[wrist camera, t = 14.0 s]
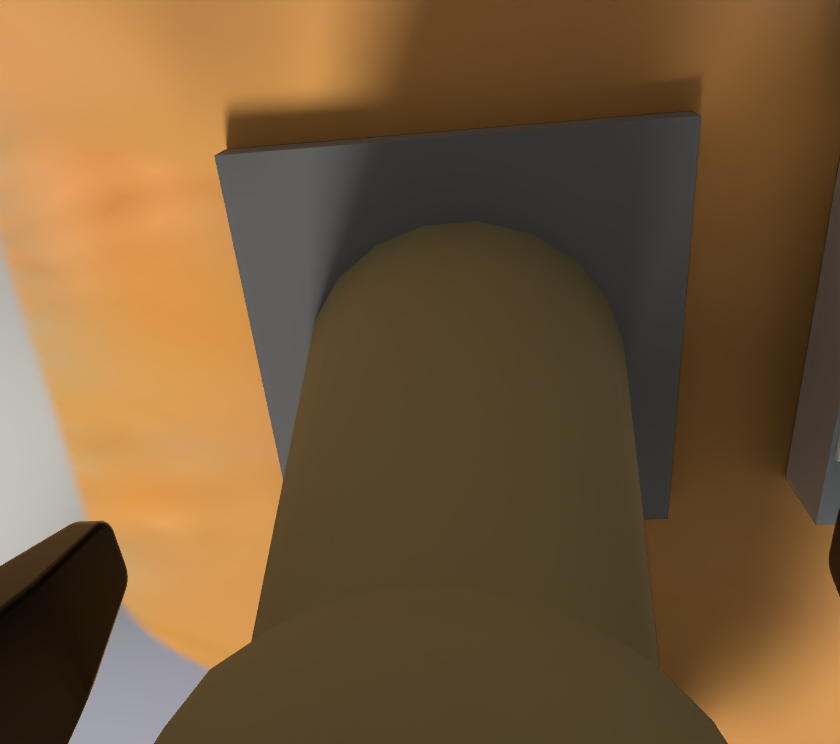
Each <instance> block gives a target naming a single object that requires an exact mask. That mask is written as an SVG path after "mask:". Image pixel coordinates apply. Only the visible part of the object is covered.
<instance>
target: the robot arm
mask: <svg viewBox="0 0 840 744" xmlns="http://www.w3.org/2000/svg"><path fill="white" fill-rule="evenodd" d="M829 567H830V572H831V575H832V578H833V581H834V583H835V586H836V588H837V591H838V593H839V596H840V508H839V511H838V515H837V519H836V524H835V529H834V533H833V538H832V543H831V547H830V552H829ZM127 578H128V575H127V569H126V565H125V562H124V560H123V557H122V554H121V551H120V548H119V546H118V543H117V540H116V537H115V534H114V531H113V529H112V527H111V526H110V525H109V524H108V523H107V522H104V521H80V522H75V523H72V524H70V525H68V526H67V527H65V528H63V529H62V530H60V531H58V532H57V533H55V534H53V535H52V536H50V537H48V538H47V539H45V540H43V541H42V542H40V543H38V544H37V545H35V546H33V547H31V548H30V549H28V550H27V551H25V552H23V553H21V554H20V555H18V556H16V557H15V558H13V559H11V560H10V561H8V562H6V563H5V564H3V565H1V566H0V744H68V742H69V740H70V738H71V736H72V734H73V731H74V729H75V727H76V725H77V723H78V721H79V718H80V716H81V714H82V711H83V709H84V707H85V704H86V702H87V700H88V697H89V695H90V692H91V689H92V687H93V684H94V681H95V678H96V676H97V673H98V670H99V667H100V664H101V661H102V658H103V655H104V652H105V649H106V646H107V643H108V640H109V637H110V634H111V631H112V629H113V626H114V623H115V619H116V617H117V614H118V611H119V608H120V605H121V602H122V599H123V596H124V593H125V590H126V587H127Z"/></svg>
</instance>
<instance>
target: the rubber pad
mask: <svg viewBox="0 0 840 744" xmlns="http://www.w3.org/2000/svg"><path fill="white" fill-rule="evenodd" d="M700 124H701V115H699V114H696V113H694V112H692V111H685V112H673V113H660V114H648V115H636V116H624V117H612V118H600V119H588V120H576V121H564V122H552V123H540V124H528V125H516V126H503V127H491V128H479V129H467V130H455V131H443V132H431V133H419V134H407V135H395V136H383V137H371V138H358V139H346V140H334V141H322V142H310V143H298V144H286V145H274V146H262V147H250V148H238V149H226V150H224V151H222V152H220V153H218V154H217V155H215V160H216V165H217V170H218V174H219V179H220V184H221V188H222V193H223V198H224V203H225V207H226V212H227V217H228V221H229V226H230V231H231V236H232V240H233V245H234V250H235V254H236V259H237V264H238V269H239V273H240V278H241V283H242V287H243V292H244V297H245V302H246V306H247V311H248V316H249V320H250V325H251V330H252V335H253V339H254V344H255V349H256V353H257V358H258V363H259V368H260V372H261V377H262V382H263V386H264V391H265V396H266V401H267V405H268V410H269V415H270V419H271V424H272V429H273V434H274V438H275V443H276V448H277V452H278V457H279V462H280V467H281V471H282V476H283V479H284V474H285V469H286V464H287V459H288V454H289V449H290V444H291V439H292V434H293V429H294V424H295V419H296V414H297V409H298V404H299V399H300V394H301V389H302V383H303V378H304V373H305V368H306V363H307V358H308V353H309V348H310V343H311V338H312V333H313V328H314V323H315V319H316V317H317V315H318V314H319V312H320V310H321V308H322V306H323V305H324V303H325V301H326V299H327V297H328V296H329V294H330V292H331V290H332V288H333V287H334V285H335V283H336V281H337V279H338V278H339V277H340V276H342V275H343V274H344V273H345V272H346V271H347V270H348V269H350V268H351V267H352V266H353V265H354V264H355V263H356V262H358V261H359V260H360V259H361V258H362V257H363V256H364V255H365V254H367V253H368V252H369V251H370V250H371V249H372V248H373V247H375V246H376V245H379V244H381V243H383V242H386V241H388V240H391V239H393V238H395V237H398V236H400V235H403V234H405V233H407V232H410V231H412V230H415V229H417V228H419V227H422V226H424V225H436V224H449V223H461V222H473V221H480V222H485V223H489V224H493V225H497V226H502V227H506V228H510V229H515V230H519V231H523V232H527V233H532V234H533V235H535V236H537V237H538V238H540V239H542V240H543V241H545V242H546V243H548V244H550V245H551V246H553V247H555V248H556V249H558V250H560V251H561V252H563V253H564V254H566V255H568V256H569V257H571V258H573V259H574V260H576V261H577V262H578V263H579V264H580V266H581V267H582V268H583V269H584V270H585V272H586V273H587V274H588V275H589V276H590V278H591V279H592V280H593V281H594V283H595V284H596V285H597V286H598V287H599V289H600V290H601V291H602V292H603V294H604V295H605V296H606V297H607V298H608V300H609V302H610V305H611V308H612V311H613V314H614V317H615V320H616V322H617V325H618V328H619V331H620V334H621V337H622V340H623V343H624V348H625V357H626V366H627V375H628V384H629V393H630V402H631V411H632V420H633V429H634V437H635V446H636V455H637V464H638V473H639V482H640V491H641V500H642V509H643V518H644V520H646V519H668V510H669V498H670V486H671V474H672V462H673V450H674V438H675V426H676V414H677V401H678V389H679V377H680V365H681V353H682V341H683V329H684V317H685V305H686V293H687V281H688V269H689V257H690V245H691V233H692V221H693V209H694V197H695V185H696V172H697V160H698V148H699V136H700Z"/></svg>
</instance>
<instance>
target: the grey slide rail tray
mask: <svg viewBox="0 0 840 744" xmlns="http://www.w3.org/2000/svg"><path fill="white" fill-rule="evenodd" d="M785 479H786V480H787V482H788V483H789V485H790V486H791V488H792V489H793V491H794V492H795V494H796V495H797V497H798V498H799V500H800V501H801V503H802V504H803V506H804V507H805V509H806V510H807V512H808V513H809V515H810V516H811V518H812V520H813V521H814V523H815V524H816V525H817V524H836V519H837V515H838V511H839V508H840V160H839V166H838V172H837V178H836V184H835V190H834V195H833V201H832V207H831V213H830V219H829V225H828V231H827V237H826V243H825V248H824V254H823V260H822V266H821V272H820V278H819V284H818V290H817V296H816V301H815V307H814V313H813V319H812V325H811V331H810V337H809V343H808V348H807V354H806V360H805V366H804V372H803V378H802V384H801V390H800V396H799V401H798V407H797V413H796V419H795V425H794V431H793V437H792V443H791V449H790V454H789V460H788V466H787V472H786V478H785Z"/></svg>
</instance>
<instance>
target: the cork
mask: <svg viewBox="0 0 840 744" xmlns="http://www.w3.org/2000/svg"><path fill="white" fill-rule="evenodd" d="M154 744H728V743H727V742H726V740H725V739H724V737H723V736H722V734H721V733H720V731H719V730H718V728H717V727H716V725H715V724H714V722H713V721H712V720H711V719H710V718H709V717H708V716H707V715H706V714H705V713H704V712H703V711H702V710H701V709H700V708H699V707H698V706H697V705H696V704H695V703H694V702H693V701H692V700H691V699H690V698H689V697H688V696H687V695H686V694H685V693H684V692H683V691H682V690H681V689H680V688H679V687H678V686H677V685H676V684H675V683H674V682H673V681H672V680H671V679H670V678H669V677H668V676H667V675H666V674H665V673H664V672H663V671H662V670H661V669H660V662H659V653H658V644H657V635H656V626H655V617H654V608H653V599H652V590H651V581H650V572H649V563H648V554H647V545H646V536H645V527H644V518H643V509H642V500H641V491H640V482H639V473H638V464H637V455H636V446H635V437H634V429H633V420H632V411H631V402H630V393H629V384H628V375H627V366H626V357H625V348H624V343H623V340H622V337H621V334H620V331H619V328H618V325H617V322H616V320H615V317H614V314H613V311H612V308H611V305H610V302H609V300H608V298H607V297H606V296H605V295H604V294H603V292H602V291H601V290H600V289H599V287H598V286H597V285H596V284H595V283H594V281H593V280H592V279H591V278H590V276H589V275H588V274H587V273H586V272H585V270H584V269H583V268H582V267H581V266H580V264H579V263H578V262H577V261H576V260H574V259H573V258H571V257H569V256H568V255H566V254H564V253H563V252H561V251H560V250H558V249H556V248H555V247H553V246H551V245H550V244H548V243H546V242H545V241H543V240H542V239H540V238H538V237H537V236H535V235H533V234H532V233H527V232H523V231H519V230H515V229H510V228H506V227H502V226H497V225H493V224H489V223H485V222H480V221H473V222H461V223H449V224H436V225H424V226H422V227H419V228H417V229H415V230H412V231H410V232H407V233H405V234H403V235H400V236H398V237H395V238H393V239H391V240H388V241H386V242H383V243H381V244H379V245H376V246H375V247H373V248H372V249H371V250H370V251H369V252H368V253H367V254H365V255H364V256H363V257H362V258H361V259H360V260H359V261H358V262H356V263H355V264H354V265H353V266H352V267H351V268H350V269H348V270H347V271H346V272H345V273H344V274H343V275H342V276H340V277H339V278H338V279H337V281H336V283H335V285H334V287H333V288H332V290H331V292H330V294H329V296H328V297H327V299H326V301H325V303H324V305H323V306H322V308H321V310H320V312H319V314H318V315H317V317H316V319H315V323H314V328H313V333H312V338H311V343H310V348H309V353H308V358H307V363H306V368H305V373H304V378H303V383H302V389H301V394H300V399H299V404H298V409H297V414H296V419H295V424H294V429H293V434H292V439H291V444H290V449H289V454H288V459H287V464H286V469H285V474H284V479H283V484H282V490H281V495H280V500H279V505H278V510H277V515H276V520H275V525H274V530H273V535H272V540H271V545H270V550H269V555H268V560H267V565H266V570H265V575H264V580H263V586H262V591H261V596H260V601H259V606H258V611H257V616H256V621H255V626H254V631H253V636H252V641H251V643H249V644H248V645H246V646H245V647H243V648H242V649H240V650H239V651H237V652H236V653H234V654H233V655H231V656H230V657H228V658H227V659H225V660H224V661H222V662H221V663H219V664H218V665H216V666H215V667H213V668H212V669H210V670H209V671H208V673H207V674H206V675H205V677H204V678H203V679H202V680H201V682H200V683H199V684H198V686H197V687H196V688H195V689H194V690H193V692H192V693H191V694H190V696H189V697H188V698H187V700H186V701H185V702H184V703H183V704H182V706H181V707H180V708H179V710H178V711H177V712H176V713H175V715H174V716H173V717H172V719H171V720H170V721H169V722H168V724H167V725H166V726H165V727H164V729H163V730H162V732H161V733H160V735H159V737H158V738H157V740H156V741H155V743H154Z"/></svg>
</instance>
